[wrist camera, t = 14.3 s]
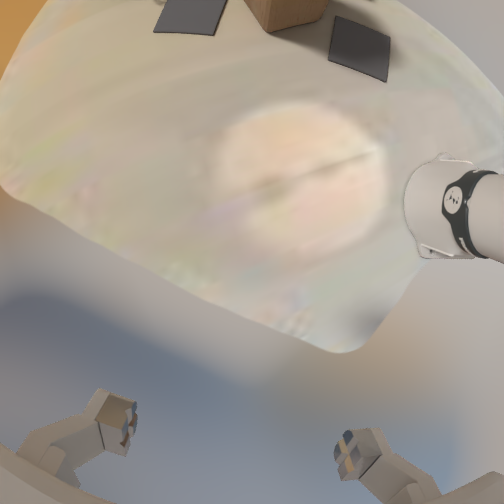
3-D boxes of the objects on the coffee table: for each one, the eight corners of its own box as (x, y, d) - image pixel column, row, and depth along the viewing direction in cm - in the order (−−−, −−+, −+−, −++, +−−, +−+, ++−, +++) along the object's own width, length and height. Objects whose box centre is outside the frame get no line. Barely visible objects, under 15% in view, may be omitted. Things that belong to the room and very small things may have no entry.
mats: (389, 38, 33) (390, 37, 33) (385, 82, 35) (386, 81, 35) (173, -9, 30) (172, -10, 30) (153, 32, 32) (153, 31, 32)
